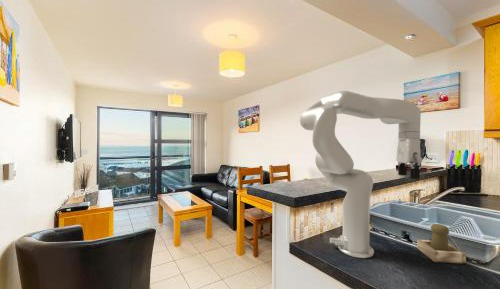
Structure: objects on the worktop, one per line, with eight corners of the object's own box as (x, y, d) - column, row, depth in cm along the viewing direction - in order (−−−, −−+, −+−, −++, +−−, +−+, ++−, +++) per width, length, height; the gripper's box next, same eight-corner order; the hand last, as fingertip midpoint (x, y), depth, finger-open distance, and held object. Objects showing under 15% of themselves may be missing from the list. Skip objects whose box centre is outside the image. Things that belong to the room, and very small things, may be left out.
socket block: (434, 261, 80) (434, 251, 80) (417, 248, 90) (417, 239, 90) (465, 263, 78) (465, 253, 78) (444, 249, 88) (444, 241, 88)
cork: (454, 259, 80) (454, 228, 80) (434, 257, 82) (435, 227, 81) (443, 251, 86) (444, 222, 86) (425, 249, 88) (426, 221, 87)
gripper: (390, 136, 104) (389, 173, 104) (410, 135, 87) (409, 179, 87) (408, 137, 103) (407, 174, 103) (431, 135, 86) (431, 180, 86)
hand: (408, 176), depth 95 cm, fingers open, 9 cm apart
